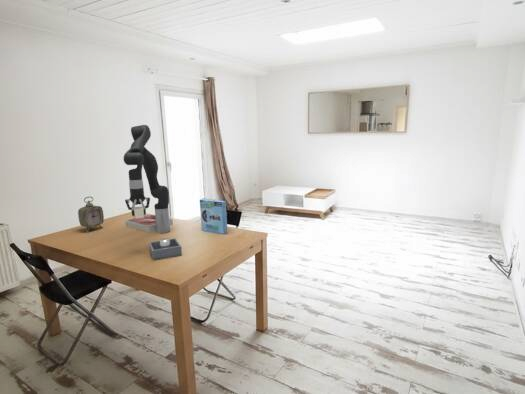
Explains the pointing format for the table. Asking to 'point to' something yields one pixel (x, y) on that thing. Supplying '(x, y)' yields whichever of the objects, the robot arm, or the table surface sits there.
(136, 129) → the robot arm
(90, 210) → the tabletop clock
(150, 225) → the product packaging
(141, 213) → the cream box
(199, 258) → the table surface
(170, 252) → the tote
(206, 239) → the table surface
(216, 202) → the gum box
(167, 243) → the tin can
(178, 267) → the table surface
